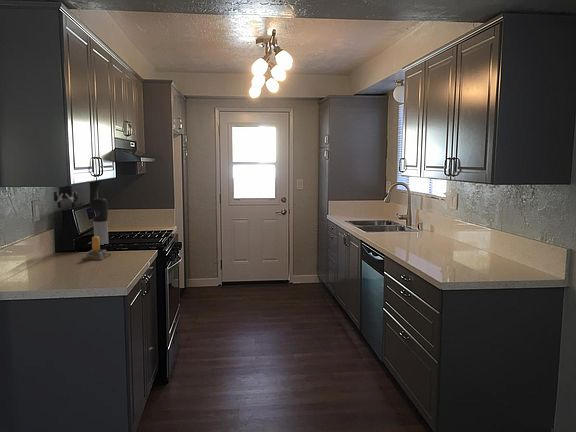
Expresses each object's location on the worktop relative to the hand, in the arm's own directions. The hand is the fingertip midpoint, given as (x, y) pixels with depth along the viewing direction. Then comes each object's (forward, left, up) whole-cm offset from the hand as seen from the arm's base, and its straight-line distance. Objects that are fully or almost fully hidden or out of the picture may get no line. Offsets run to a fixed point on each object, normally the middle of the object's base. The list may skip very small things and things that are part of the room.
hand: (66, 208), depth 299 cm
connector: (+8, +21, -29) cm, 37 cm away
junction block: (+8, +21, -30) cm, 37 cm away
